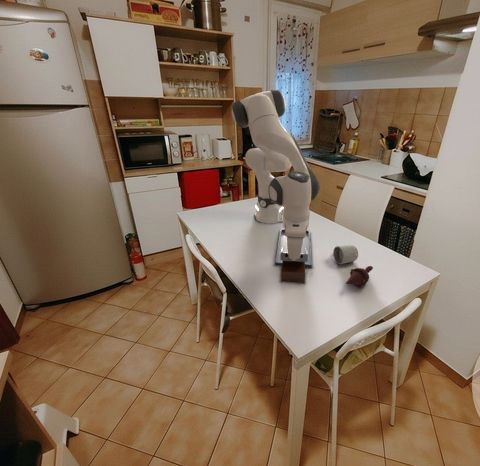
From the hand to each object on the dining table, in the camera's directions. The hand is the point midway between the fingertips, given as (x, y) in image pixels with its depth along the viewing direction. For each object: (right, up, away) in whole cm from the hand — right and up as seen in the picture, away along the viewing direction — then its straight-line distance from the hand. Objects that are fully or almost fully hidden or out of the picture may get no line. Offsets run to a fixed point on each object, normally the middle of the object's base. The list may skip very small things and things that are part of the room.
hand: (294, 255), depth 95 cm
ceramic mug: (+23, -4, +19) cm, 30 cm away
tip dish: (0, -2, +6) cm, 6 cm away
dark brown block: (0, -9, +9) cm, 12 cm away
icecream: (+25, -11, +5) cm, 27 cm away
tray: (+2, +1, +28) cm, 28 cm away
